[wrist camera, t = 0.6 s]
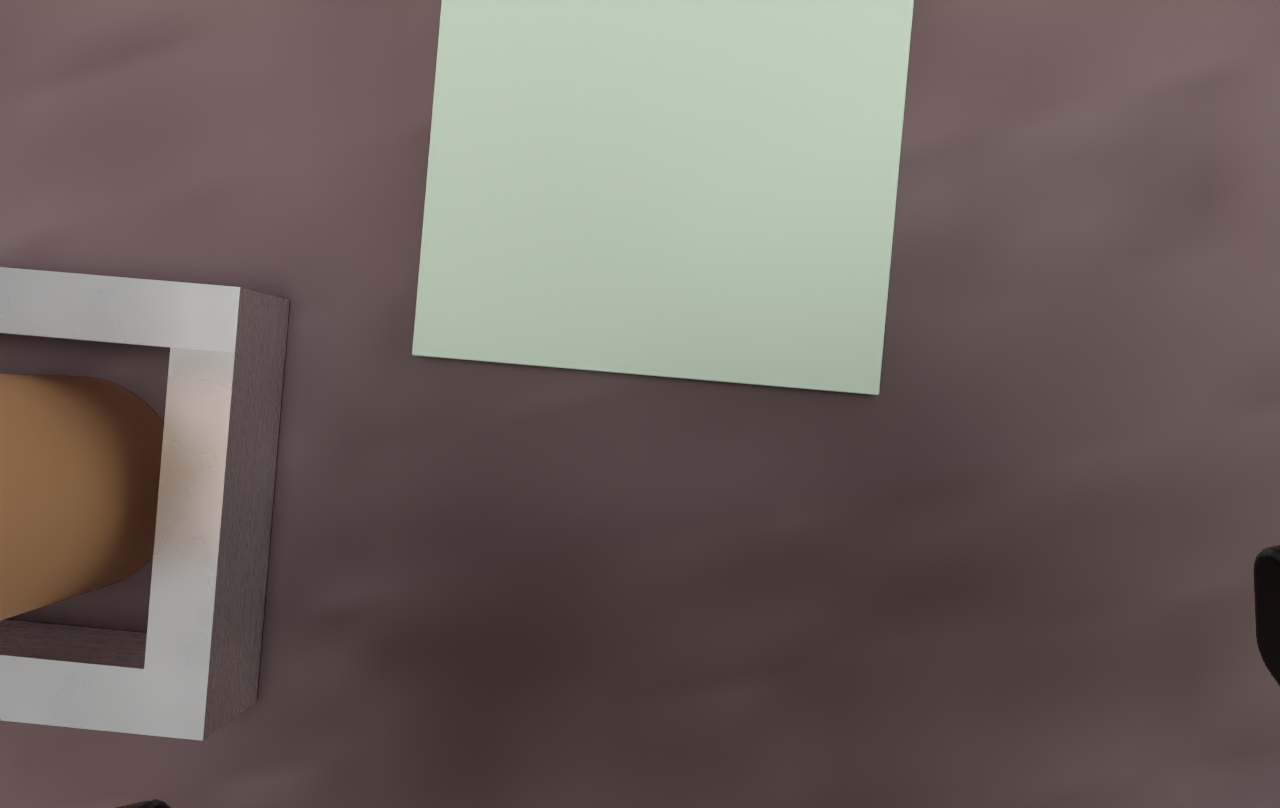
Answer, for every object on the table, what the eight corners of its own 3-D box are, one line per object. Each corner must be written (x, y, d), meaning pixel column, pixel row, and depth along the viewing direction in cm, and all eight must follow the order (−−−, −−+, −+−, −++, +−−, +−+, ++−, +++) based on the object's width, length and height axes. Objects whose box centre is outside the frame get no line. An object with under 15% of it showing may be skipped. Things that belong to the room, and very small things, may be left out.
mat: (873, 394, 22) (878, 394, 21) (419, 356, 22) (412, 354, 21) (914, -66, 21) (920, -79, 21) (457, -97, 22) (450, -111, 21)
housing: (256, 701, 22) (202, 740, 20) (-134, 663, 22) (-235, 696, 20) (289, 299, 22) (240, 287, 20) (-103, 266, 22) (-201, 250, 20)
